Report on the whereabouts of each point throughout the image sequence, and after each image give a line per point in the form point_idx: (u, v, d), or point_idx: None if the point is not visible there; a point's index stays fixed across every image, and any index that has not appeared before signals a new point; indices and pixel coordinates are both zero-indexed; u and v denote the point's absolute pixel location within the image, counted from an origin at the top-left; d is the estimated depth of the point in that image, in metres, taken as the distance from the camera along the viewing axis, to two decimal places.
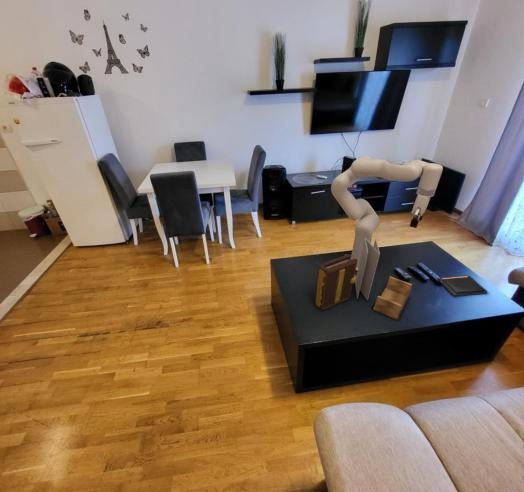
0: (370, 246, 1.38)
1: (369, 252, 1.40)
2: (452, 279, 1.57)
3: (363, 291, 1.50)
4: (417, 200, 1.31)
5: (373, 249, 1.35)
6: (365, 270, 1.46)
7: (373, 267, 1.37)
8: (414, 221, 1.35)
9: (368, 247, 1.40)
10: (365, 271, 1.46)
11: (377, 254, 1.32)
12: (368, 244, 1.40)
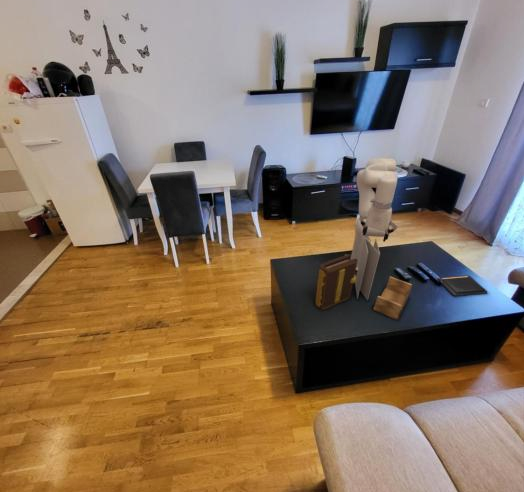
0: (370, 246, 1.38)
1: (369, 252, 1.39)
2: (452, 279, 1.57)
3: (363, 291, 1.50)
4: (389, 215, 1.23)
5: (373, 249, 1.35)
6: (365, 270, 1.46)
7: (373, 267, 1.37)
8: (388, 234, 1.29)
9: (368, 247, 1.40)
10: (365, 271, 1.46)
11: (377, 254, 1.32)
12: (368, 244, 1.40)
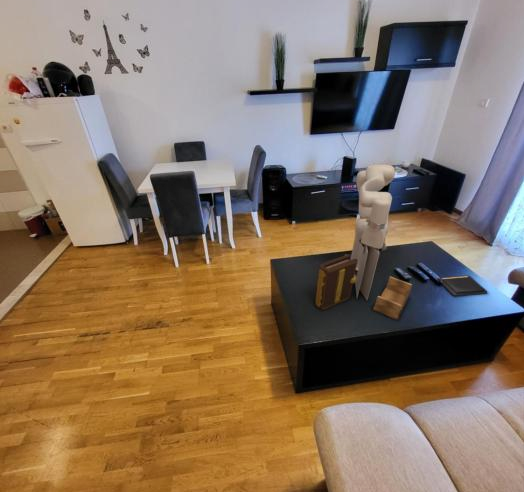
0: (370, 246, 1.38)
1: (369, 252, 1.40)
2: (452, 279, 1.57)
3: (363, 291, 1.50)
4: (384, 234, 1.28)
5: (373, 249, 1.35)
6: (365, 270, 1.46)
7: (373, 267, 1.37)
8: None
9: (368, 247, 1.40)
10: (365, 271, 1.46)
11: (377, 254, 1.32)
12: None
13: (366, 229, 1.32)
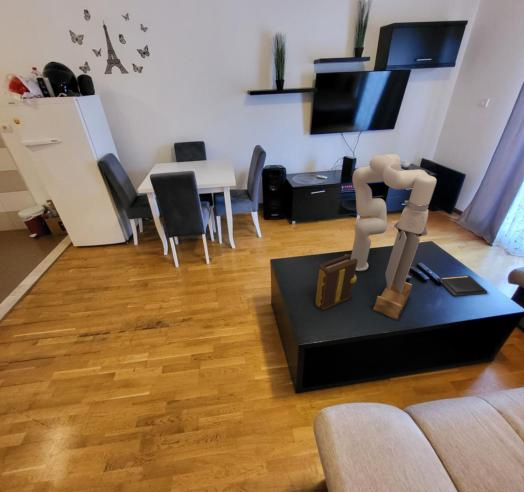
0: (407, 232, 1.23)
1: (406, 239, 1.25)
2: (452, 279, 1.57)
3: (396, 283, 1.35)
4: (426, 217, 1.14)
5: (411, 235, 1.21)
6: (399, 259, 1.31)
7: (410, 255, 1.22)
8: None
9: (405, 233, 1.25)
10: (399, 260, 1.31)
11: (416, 240, 1.17)
12: None
13: (405, 212, 1.17)
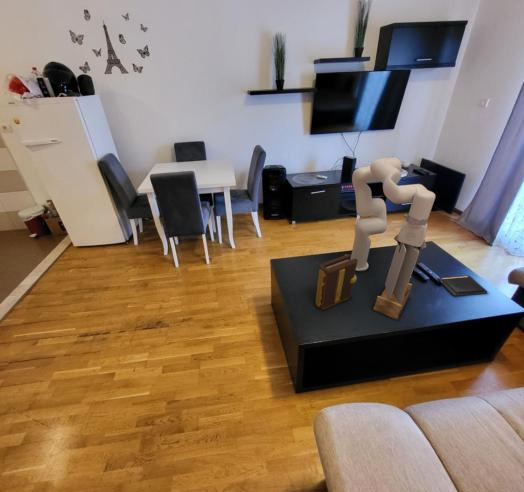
0: (407, 244, 1.26)
1: (405, 251, 1.28)
2: (452, 279, 1.57)
3: (395, 294, 1.38)
4: (425, 231, 1.17)
5: (411, 247, 1.23)
6: None
7: (410, 267, 1.25)
8: None
9: (404, 245, 1.28)
10: (399, 271, 1.34)
11: (416, 253, 1.20)
12: None
13: (404, 225, 1.20)
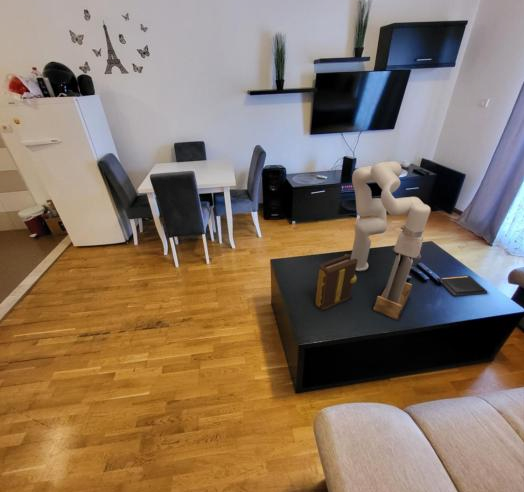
0: None
1: (402, 260, 1.31)
2: (452, 279, 1.57)
3: None
4: (421, 243, 1.20)
5: (406, 257, 1.26)
6: (396, 279, 1.37)
7: (404, 276, 1.28)
8: None
9: (402, 255, 1.31)
10: (396, 280, 1.37)
11: (409, 263, 1.23)
12: None
13: (401, 237, 1.23)
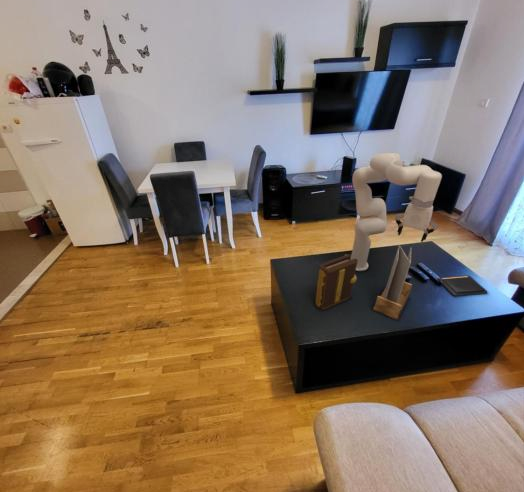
0: (403, 254, 1.29)
1: (401, 260, 1.31)
2: (452, 279, 1.57)
3: None
4: (431, 213, 1.13)
5: (405, 257, 1.27)
6: (395, 279, 1.37)
7: (403, 277, 1.29)
8: (427, 234, 1.19)
9: (401, 255, 1.31)
10: (395, 280, 1.37)
11: (408, 263, 1.24)
12: (401, 252, 1.31)
13: (409, 208, 1.16)
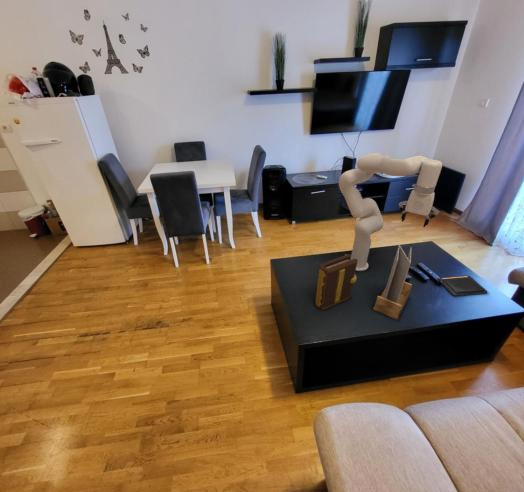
0: (403, 254, 1.29)
1: (401, 260, 1.31)
2: (452, 279, 1.57)
3: None
4: (432, 200, 1.22)
5: (405, 257, 1.27)
6: (395, 279, 1.37)
7: (403, 277, 1.29)
8: (429, 219, 1.28)
9: (401, 255, 1.31)
10: (395, 280, 1.37)
11: (408, 263, 1.24)
12: (401, 252, 1.31)
13: (412, 195, 1.25)
